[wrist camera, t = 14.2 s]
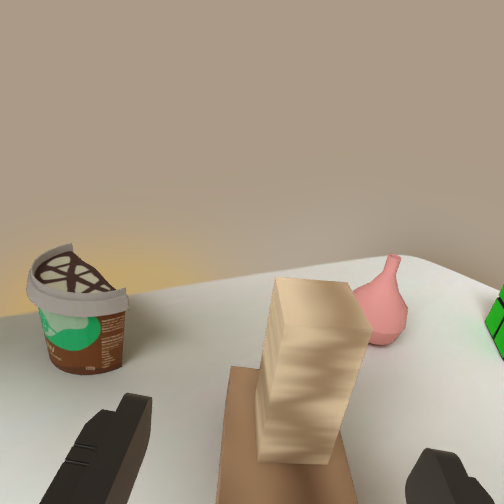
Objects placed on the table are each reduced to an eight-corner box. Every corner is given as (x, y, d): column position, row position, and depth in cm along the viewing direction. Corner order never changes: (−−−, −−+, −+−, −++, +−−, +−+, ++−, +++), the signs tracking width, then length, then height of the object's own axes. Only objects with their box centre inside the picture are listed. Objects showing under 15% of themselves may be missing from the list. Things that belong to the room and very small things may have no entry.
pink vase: (366, 361, 43) (396, 275, 38) (327, 324, 49) (349, 245, 44) (409, 349, 47) (442, 268, 42) (368, 315, 53) (393, 241, 48)
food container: (17, 335, 39) (4, 253, 35) (75, 316, 43) (69, 241, 39) (65, 407, 32) (56, 313, 28) (129, 375, 36) (129, 290, 32)
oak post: (257, 462, 25) (284, 323, 19) (253, 402, 29) (275, 276, 24) (327, 464, 25) (373, 329, 20) (313, 405, 30) (347, 282, 24)
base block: (209, 567, 23) (216, 522, 21) (225, 405, 35) (231, 365, 33) (344, 579, 24) (365, 537, 21) (315, 415, 35) (326, 377, 33)
